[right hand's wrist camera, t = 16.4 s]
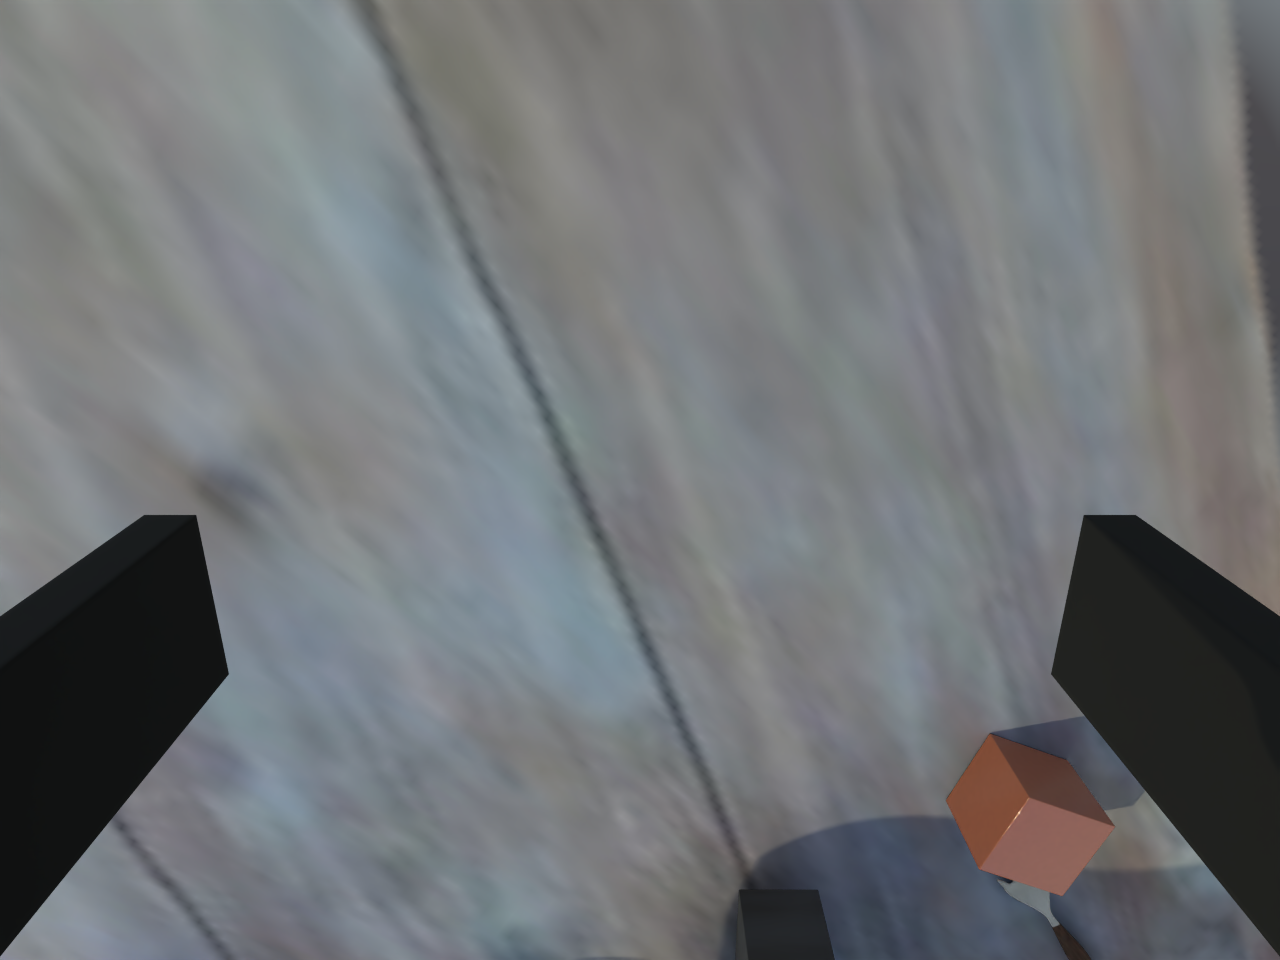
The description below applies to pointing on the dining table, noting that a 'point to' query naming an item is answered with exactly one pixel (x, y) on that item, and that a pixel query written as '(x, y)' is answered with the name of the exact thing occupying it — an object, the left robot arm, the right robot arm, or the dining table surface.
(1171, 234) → the dining table surface
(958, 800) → the terracotta block
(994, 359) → the dining table surface
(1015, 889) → the fork
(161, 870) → the dining table surface
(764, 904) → the bar
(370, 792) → the dining table surface
